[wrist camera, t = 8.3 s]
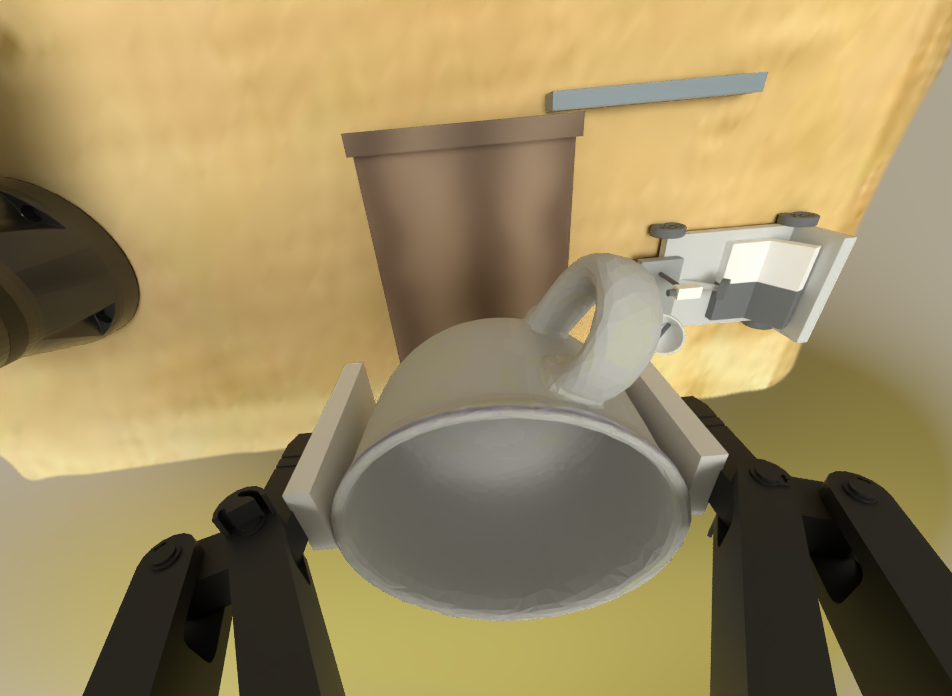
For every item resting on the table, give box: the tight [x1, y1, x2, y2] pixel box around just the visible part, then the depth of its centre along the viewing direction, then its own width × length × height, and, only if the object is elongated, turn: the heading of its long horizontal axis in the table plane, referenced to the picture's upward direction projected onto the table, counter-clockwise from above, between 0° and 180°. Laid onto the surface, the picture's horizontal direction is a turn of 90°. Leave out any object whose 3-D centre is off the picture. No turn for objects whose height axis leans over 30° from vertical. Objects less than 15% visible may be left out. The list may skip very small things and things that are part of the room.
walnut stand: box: [341, 111, 585, 363], centre depth 30 cm, size 14×20×10 cm
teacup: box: [331, 253, 691, 621], centre depth 13 cm, size 14×11×8 cm
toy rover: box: [637, 212, 857, 355], centre depth 33 cm, size 18×10×12 cm
